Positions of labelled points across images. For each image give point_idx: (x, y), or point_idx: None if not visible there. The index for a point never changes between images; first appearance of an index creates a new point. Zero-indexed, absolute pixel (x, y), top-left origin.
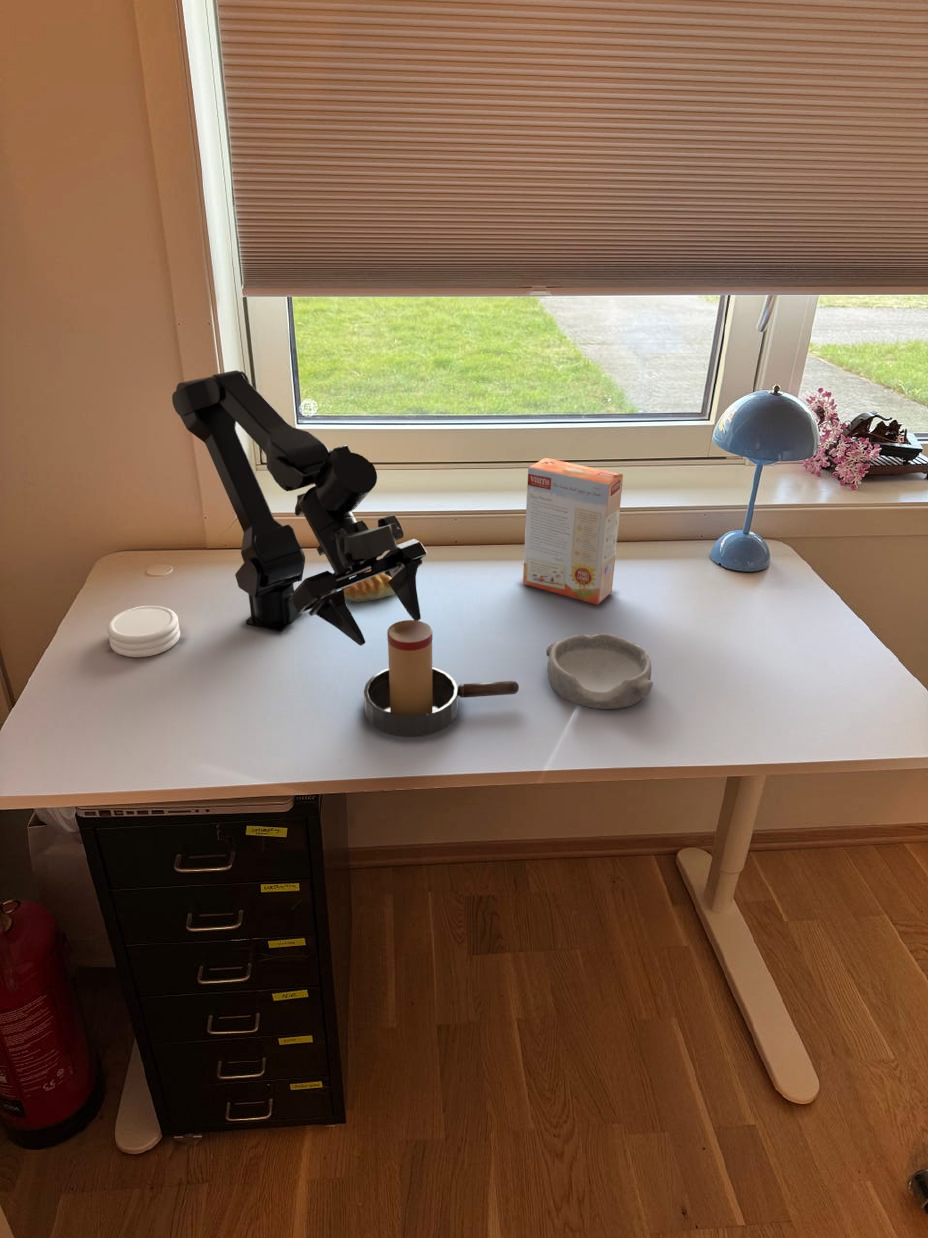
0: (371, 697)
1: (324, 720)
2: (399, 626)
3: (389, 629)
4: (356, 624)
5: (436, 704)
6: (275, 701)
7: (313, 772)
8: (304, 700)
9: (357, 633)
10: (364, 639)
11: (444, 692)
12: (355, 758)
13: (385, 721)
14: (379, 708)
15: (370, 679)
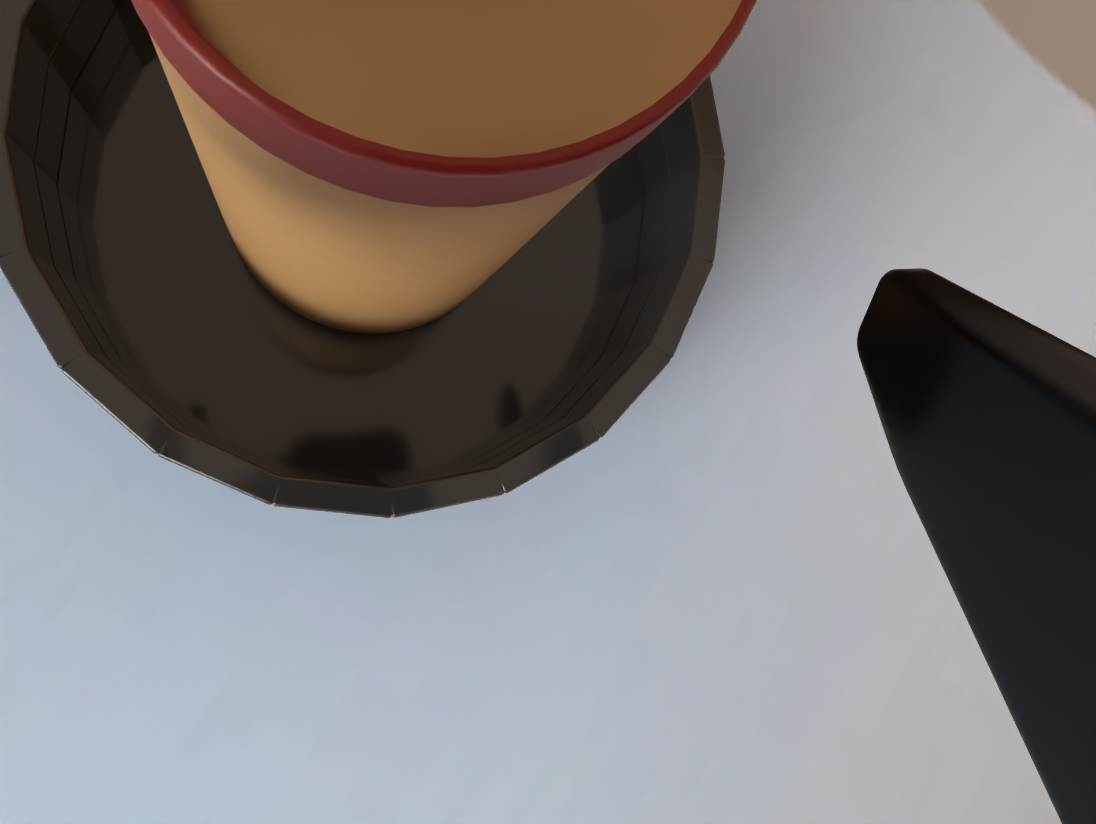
0: (539, 425)
1: (823, 470)
2: (505, 31)
3: (670, 75)
4: (1075, 388)
5: None
6: (943, 811)
7: (1069, 124)
8: (814, 723)
9: (1025, 329)
10: (908, 281)
11: (53, 181)
12: (865, 69)
13: None
14: (701, 111)
15: (546, 462)
